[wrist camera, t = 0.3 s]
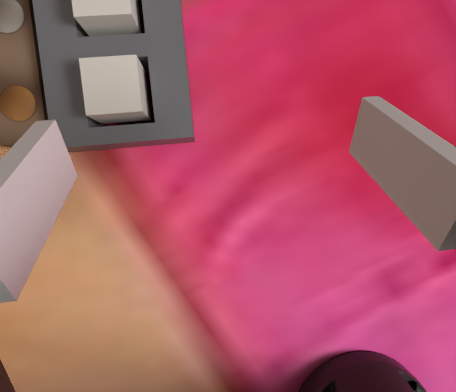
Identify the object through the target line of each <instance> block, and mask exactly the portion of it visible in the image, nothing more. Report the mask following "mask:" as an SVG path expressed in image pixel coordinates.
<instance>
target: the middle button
mask: <svg viewBox="0 0 456 392" xmlns="http://www.w3.org/2000/svg"><path fill="white" fill-rule="evenodd" d="M72 8H73V16H74V18H75V19H76V20H77V22H78V23H79V24H80V25H81V26H82V28H83V29H84V30H85V31H86V33H87V34H88V35H89V36H104V35H122V34H139V33H141V24H140V14H139V5H138V0H72Z"/></svg>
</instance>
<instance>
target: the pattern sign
mask: <svg viewBox="0 0 456 392" xmlns="http://www.w3.org/2000/svg"><path fill="white" fill-rule="evenodd" d="M44 120H48V114H47V107H46V99H45V92H44V84H43V77H42V69H41V62H40V54H39V47H38V39H37V32H36V24H35V17H34V9H33V2H32V0H0V144H1V146H5V147H12V146H13V145H14V144H15V143H16V142H17V141H18V140H19V139H20V138H21V137H22V136H23V135H24V133H25V132H26V131H27V130H28V129H29V128H30V127H31V126H32V125H33V124H34V123H35V122H36V121H44Z"/></svg>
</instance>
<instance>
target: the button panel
mask: <svg viewBox="0 0 456 392" xmlns="http://www.w3.org/2000/svg"><path fill="white" fill-rule="evenodd" d="M32 2H33V9H34V17H35V24H36V32H37V39H38V47H39V54H40V62H41V69H42V77H43V84H44V92H45V99H46V107H47V114H48V120H56V122H57V125H58V127H59V130H60V132H61V135H62V138H63V140H64V143H65V145H66V148H67V150H68V152H81V151H93V150H105V149H116V148H128V147H140V146H152V145H164V144H176V143H188V142H195V138H194V128H193V118H192V108H191V98H190V88H189V78H188V68H187V58H186V47H185V37H184V27H183V17H182V7H181V0H142V8H143V18H144V27H145V33H139V34H122V35H104V36H89V35H88V34H87V33H86V31H85V30H84V29H83V28H82V26H81V25H80V24H79V23H78V22H77V20H76V19H75V18H74V16H73V8H72V0H32ZM121 55H137V57H138V59H139V61H140V62H141V64H142V66H143V68H144V70H145V71H146V73H148V72H149V73H150V82H151V92H152V101H153V110H154V119H155V123H142V124H130V125H117V126H104V127H103V124H102V123H100V122H98V121H96V120H94V119H92V118H90V117H88V116H86V113H85V105H84V96H83V88H82V80H81V72H80V64H79V58H89V57H105V56H121Z"/></svg>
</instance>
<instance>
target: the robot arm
mask: <svg viewBox="0 0 456 392" xmlns="http://www.w3.org/2000/svg"><path fill="white" fill-rule="evenodd" d="M349 153H350V154H351V155H352V156H353V157H354V158H355V159H356V160H357V161H358V163H359V164H360V165H361V166H362V167H363V168H364V169H365V170H366V171H367V173H368V174H369V175H370V176H371V177H372V178H373V179H374V180H375V181H376V183H377V184H378V185H379V186H380V187H381V188H382V189H383V190H384V191H385V193H386V194H387V195H388V196H389V197H390V198H391V199H392V200H393V201H394V203H395V204H396V205H397V206H398V207H399V208H400V209H401V210H402V212H403V213H404V214H405V215H406V216H407V217H408V218H409V219H410V220H411V222H412V223H413V224H414V225H415V226H416V227H417V228H418V229H419V230H420V232H421V233H422V234H423V235H424V236H425V237H426V238H427V239H428V240H429V242H430V243H431V244H432V245H433V246H434V247H435V248H436V249H437V250H438V251H441V250H449V249H456V147H455V146H453V145H452V144H450V143H449V142H447V141H446V140H444V139H443V138H441V137H440V136H438V135H437V134H435V133H434V132H432V131H431V130H429V129H428V128H426V127H425V126H423V125H422V124H420V123H418V122H417V121H415V120H414V119H412V118H411V117H409V116H408V115H406V114H405V113H403V112H402V111H400V110H399V109H397V108H396V107H394V106H393V105H391V104H390V103H388V102H387V101H385V100H384V99H382V98H381V97H379V96H374V97H362V101H361V105H360V109H359V113H358V118H357V122H356V126H355V130H354V134H353V138H352V142H351V146H350V150H349ZM76 178H77V173H76V171H75V168H74V166H73V163H72V161H71V158H70V155H69V153H68V150H67V148H66V145H65V143H64V140H63V138H62V135H61V132H60V130H59V127H58V125H57V122H56V120H44V121H36V122H35V123H34V124H33V125H32V126H31V127H30V128H29V129H28V130H27V131H26V132H25V133H24V135H23V136H22V137H21V138H20V139H19V140H18V141H17V142H16V143H15V144H14V145H13V146H12V148H11V149H10V150H9V151H8V152H7V153H6V154H5V155H4V156H3V157H2V158H1V159H0V303H1V302H10V301H17V299H18V297H19V295H20V293H21V291H22V289H23V287H24V285H25V283H26V281H27V279H28V277H29V275H30V273H31V270H32V268H33V266H34V264H35V262H36V260H37V258H38V256H39V254H40V252H41V250H42V248H43V246H44V244H45V242H46V240H47V238H48V236H49V233H50V231H51V229H52V227H53V225H54V223H55V221H56V219H57V217H58V215H59V213H60V211H61V209H62V207H63V205H64V203H65V201H66V199H67V196H68V194H69V192H70V190H71V188H72V186H73V184H74V182H75V180H76ZM0 392H15V390H14V388H13V385H12V383H11V381H10V379H9V377H8V375H7V373H6V370H5V368H4V366H3V364H2V362H1V360H0ZM299 392H426V390H425V389H424V387H423V386H422V385H421V383H420V382H419V381H418V380H417V379H416V378H415V377H414V376H413V375H412V374H411V373H410V372H409V371H408V370H407V369H406V368H405V367H403V366H402V365H401V364H400V363H399V362H397V361H396V360H394V359H392V358H390V357H388V356H386V355H383V354H380V353H375V352H368V351H358V352H351V353H346V354H343V355H340V356H337V357H335V358H333V359H331V360H329V361H327V362H325V363H324V364H322V365H321V366H320V367H318V368H317V369H316V370H315V371H314V372H313V373H312V374H311V375H310V376H309V377H308V378H307V380H306V381H305V382H304V384H303V385H302V387H301V389H300V390H299Z"/></svg>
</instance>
